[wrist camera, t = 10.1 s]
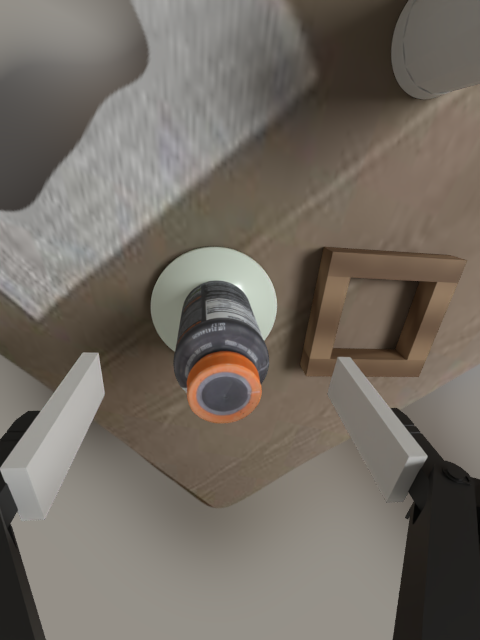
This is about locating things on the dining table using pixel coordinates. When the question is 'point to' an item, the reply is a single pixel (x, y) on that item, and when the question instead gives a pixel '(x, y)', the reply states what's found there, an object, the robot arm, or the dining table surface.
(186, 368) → the pill bottle
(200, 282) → the pale green rounded part
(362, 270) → the open wooden frame
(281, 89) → the dining table surface
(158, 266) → the dining table surface
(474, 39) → the cup
